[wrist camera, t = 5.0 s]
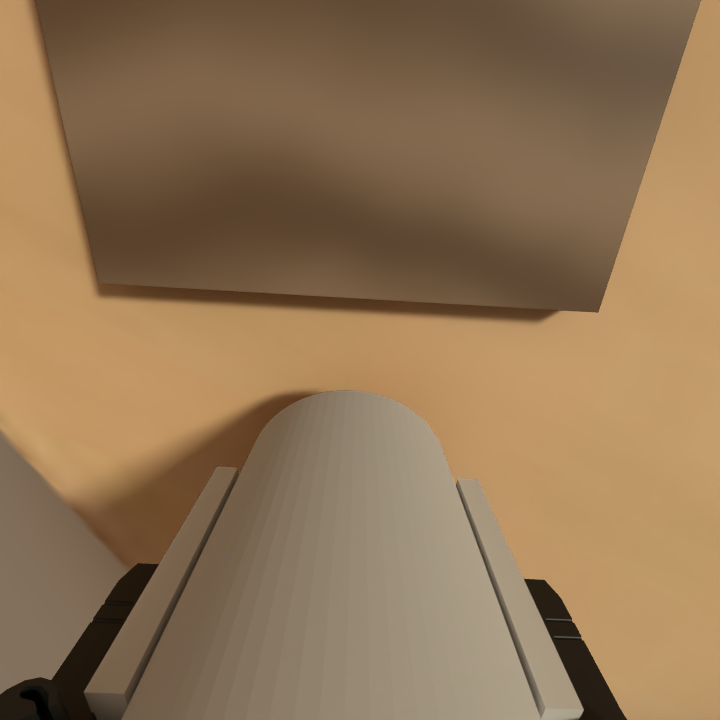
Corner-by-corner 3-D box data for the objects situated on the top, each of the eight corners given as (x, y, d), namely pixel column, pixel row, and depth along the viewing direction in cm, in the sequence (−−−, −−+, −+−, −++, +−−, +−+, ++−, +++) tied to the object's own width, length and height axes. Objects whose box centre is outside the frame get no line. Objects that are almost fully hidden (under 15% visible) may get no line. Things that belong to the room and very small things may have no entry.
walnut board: (574, 303, 14) (598, 312, 13) (125, 276, 14) (98, 283, 12) (777, -377, 8) (865, -501, 7) (-20, -469, 8) (-105, -625, 6)
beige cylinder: (222, 510, 15) (-180, 1348, 4) (296, 355, 12) (-313, 1604, 1) (387, 571, 16) (444, 1320, 5) (485, 442, 14) (1041, 1411, 3)
